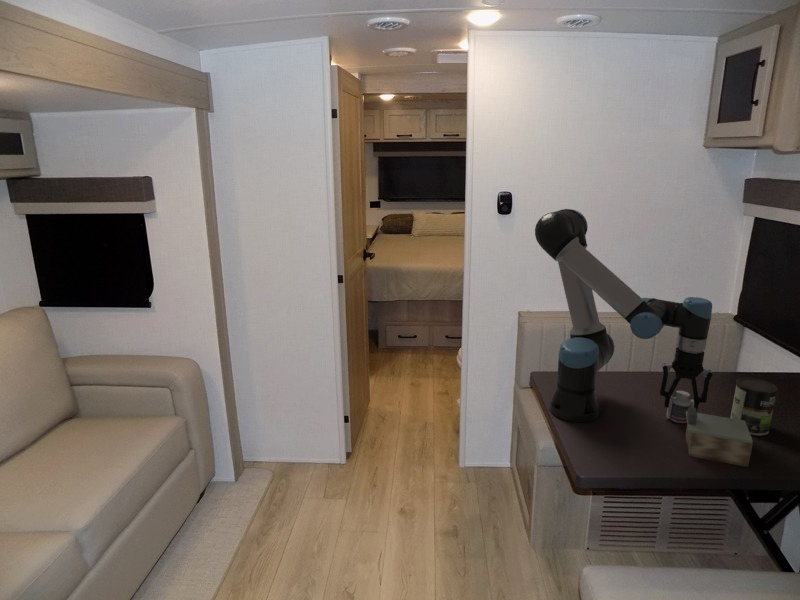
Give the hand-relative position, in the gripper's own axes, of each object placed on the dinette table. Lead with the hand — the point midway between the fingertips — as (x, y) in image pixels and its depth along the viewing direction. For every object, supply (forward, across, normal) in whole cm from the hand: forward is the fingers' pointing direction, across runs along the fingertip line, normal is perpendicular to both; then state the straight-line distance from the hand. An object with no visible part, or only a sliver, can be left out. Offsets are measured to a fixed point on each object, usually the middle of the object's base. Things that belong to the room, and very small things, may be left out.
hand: (678, 418), depth 163 cm
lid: (-7, +8, -15) cm, 18 cm away
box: (+1, +8, -15) cm, 17 cm away
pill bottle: (0, 0, 0) cm, 0 cm away
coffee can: (+1, +19, +4) cm, 20 cm away
